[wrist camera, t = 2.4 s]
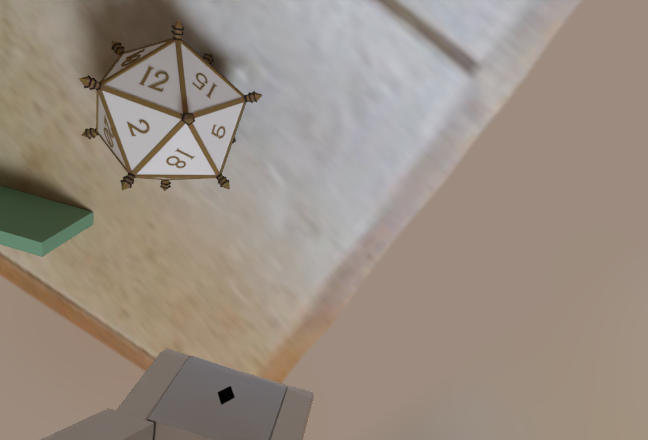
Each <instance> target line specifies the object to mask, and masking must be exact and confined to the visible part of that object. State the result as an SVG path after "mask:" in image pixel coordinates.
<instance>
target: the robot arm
mask: <svg viewBox="0 0 648 440" xmlns="http://www.w3.org/2000/svg"><path fill="white" fill-rule="evenodd" d="M313 397H314V395H313V392H310V391H306V390H302V389H299V388H296V387H292V386H288V385H285V384H282V383H278V382H275V381H272V380H268V379H265V378H261V377H258V376H254V375H251V374H248V373H244V372H241V371H240V372H239V371H236V370H233V369H230V368H227V367H224V366H221V365H218V364H215V363H212V362H209V361H206V360H203V359H200V358H197V357H194V356H189V355H186V354H183V353H180V352H177V351H174V350H171V349H168V348H167V349H165V350H164V351H162V352H161V353H160V354H159V355H158V356H157V358H156V359H155V360H154V362H153V363H152V364H151V366H150V367H149V368H148V370H147V371H146V372H145V373H144V375H143V376H142V378H141V379H140V380H139V381H138V383H137V384H136V385H135V387H134V388H133V389H132V390H131V392H130V393H129V395H128V396H127V397H126V399H125V400H124V401H123V402H122V404H121V405H120V406H119V408H118V409H117V410H113V409H109V408H108V409H106V410H104V411H102V412H99V413H97V414H95V415H93V416H91V417H88V418H86V419H84V420H82V421H80V422H78V423H76V424H73V425H72V426H69V427H67V428H65V429H63V430H60V431H58V432H56V433H54V434H52V435H50V436H47V437H45V438H43V439H41V440H303V436H304V433H305V429H306V425H307V421H308V417H309V413H310V409H311V405H312V401H313Z"/></svg>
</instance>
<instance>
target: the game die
mask: <svg viewBox="0 0 648 440" xmlns="http://www.w3.org/2000/svg"><path fill="white" fill-rule="evenodd" d="M172 27H173V31H172V33H173V35H174V37H173V38H172V39H168V40H165V41H162V42H158V43H155V44H151V45H148V46H144V47H141V48H138V49H134V50H131V51H127V52H125V51H124V47H122V45H121V43H117V42H114V41H112V48H111V49H113V50H114V51H115V53H117V54H119V55H120V56H119V58H118V59H117V60H116V62H115V63H114V64H113V65H112V67H111V68H110V69H109V71H108V72H107V73H106V75H105V76H104V77H103V79H102V80H101V81H100V82H97V81H96V80H95V79H94V78H93V79H92V78H91V77H90V76H87V77H84V78H79V79H80V81H81V82H82V83H83V85H84V88H89V89H90V90H91V89H96V90H97V123H96V129H93V128H90V129H85V131H84V133H83V134H82V136H85V137H87V138H89V139H91V138H92V137H93V138H95V136H97V135H99V136H100V137H101V139H102V140H103V141H104V142H105V144H106V145H107V146H108V148H109V149H110V150H111V152H112V153H113V154H114V155H115V157H116V158H117V159H118V161H119V162H120V163H121V165H122V166H123V167H124V168H125V170H126V171H127V172H128V175H127V176H126V177H123V178H124V179H123V180H121V184H122V190H124V189H127V188H131V186H132V184H133V183H134V178H145V179H158V180H162V181H161V186H160V187H162V188H163V190H164V191H166V190H167V189H168V188H169V187H171V186H170V184H171V183H170V182H169V180H181V179H203V178H217V180H218V184H220V185H221V186H220V187H224V188H227V189H230V188H229V180H227V179H226V177H224V176H222V171H223V168H224V165H225V163H226V160H227V157H228V154H229V151H230V148H231V145H232V143H234V142H236V140H235V134H236V131H237V128H238V125H239V122H240V119H241V116H242V113H243V110H244V108H245V105H246V102H251V103H253V102H254V101H256V102H257V100H258V99H259V98H260V97H261V96H262V95H261V94H258V93H256V92H254V91H253V93H250V92H249V94H248V95H244V94H242V93H241V92H240V91H239V90H238V89H237V88H236V87H234V86H233V85H232V84H231V83H230V82H229V81H228V80H227V79H225V78H224V77H223V76H222V75H221V74H220V73H219V72H218V71H216V70H215V69H214V68H213V67H212V66H211V65H210V64H211V62H212V61H213V59H212V54H205V56H204V57H203V58H202V57H201V56H200V55H198V54H197V53H196V52H195V51H194V50H193V49H192V48H191V47H189V46H188V45H187V44H186V43H185V42H184V41H183V40H181V36H182V35H183V30H184V27H183V26H182V24H181V22H180V20H178V21H177V22H176V23H175V24H174V25H173V26H172Z"/></svg>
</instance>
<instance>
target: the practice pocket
mask: <svg viewBox="0 0 648 440" xmlns="http://www.w3.org/2000/svg"><path fill="white" fill-rule="evenodd" d="M91 225H93V212H91V211H88V210H84V209H81V208H77V207H74V206H70V205H67V204H63V203H59V202H56V201H52V200H49V199H45V198H42V197H38V196H35V195H31V194H28V193H24V192H21V191H17V190H14V189H10V188H7V187H3V186H0V244H1V245H4V246H8V247H11V248H14V249H18V250H21V251H25V252H28V253H31V254H35V255H38V256H42V257H43V256H44V255H46V254H47V253H49V252H50V251H52V250H54V249H55V248H57V247H58V246H60V245H61V244H63V243H65V242H66V241H68V240H69V239H71V238H72V237H74V236H76V235H77V234H79V233H80V232H82V231H83V230H85V229H87V228H88V227H90V226H91Z"/></svg>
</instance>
